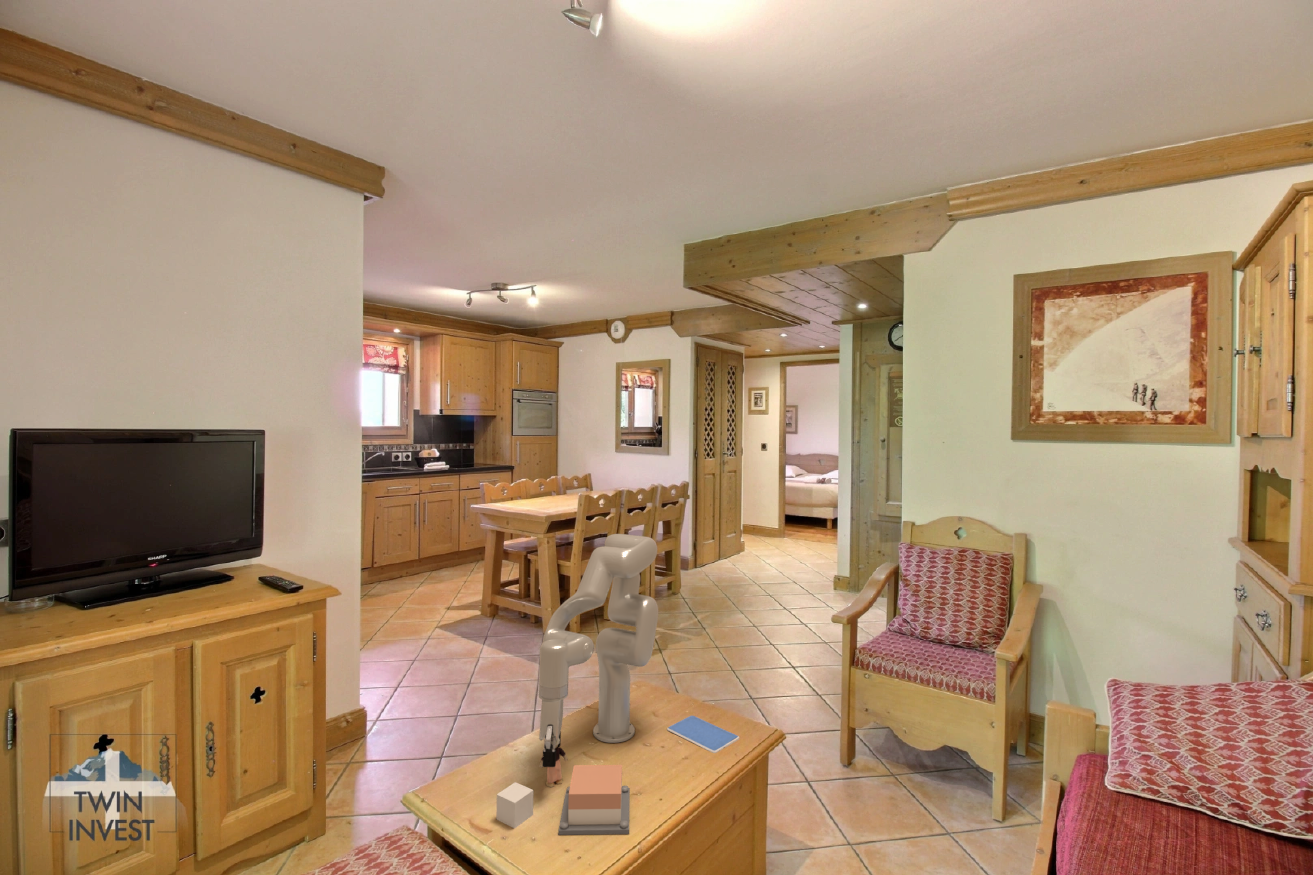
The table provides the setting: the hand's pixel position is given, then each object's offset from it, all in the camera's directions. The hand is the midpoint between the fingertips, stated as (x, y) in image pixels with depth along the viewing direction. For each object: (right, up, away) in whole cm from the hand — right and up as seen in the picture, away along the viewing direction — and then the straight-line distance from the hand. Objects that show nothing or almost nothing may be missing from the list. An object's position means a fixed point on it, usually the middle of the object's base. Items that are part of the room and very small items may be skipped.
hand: (551, 756), depth 153 cm
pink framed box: (+13, -8, -11) cm, 18 cm away
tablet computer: (+41, -9, +27) cm, 50 cm away
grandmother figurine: (0, -8, 0) cm, 8 cm away
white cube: (-6, -8, -13) cm, 16 cm away
